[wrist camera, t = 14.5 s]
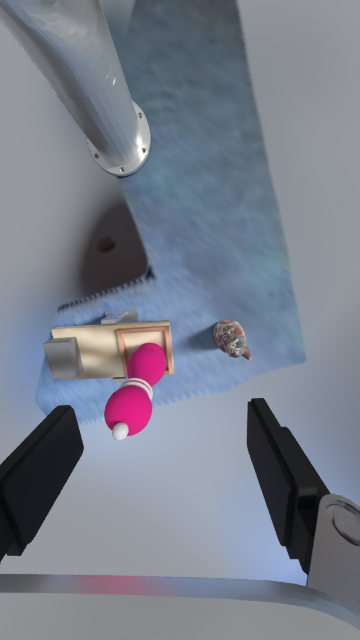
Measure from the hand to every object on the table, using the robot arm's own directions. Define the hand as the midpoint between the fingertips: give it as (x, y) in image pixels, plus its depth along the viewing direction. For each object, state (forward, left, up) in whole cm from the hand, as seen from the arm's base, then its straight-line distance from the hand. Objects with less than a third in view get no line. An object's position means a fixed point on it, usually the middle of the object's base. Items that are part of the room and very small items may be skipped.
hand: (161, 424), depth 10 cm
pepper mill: (+9, -7, -28) cm, 30 cm away
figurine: (+8, +11, -36) cm, 39 cm away
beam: (+8, -15, -29) cm, 34 cm away
